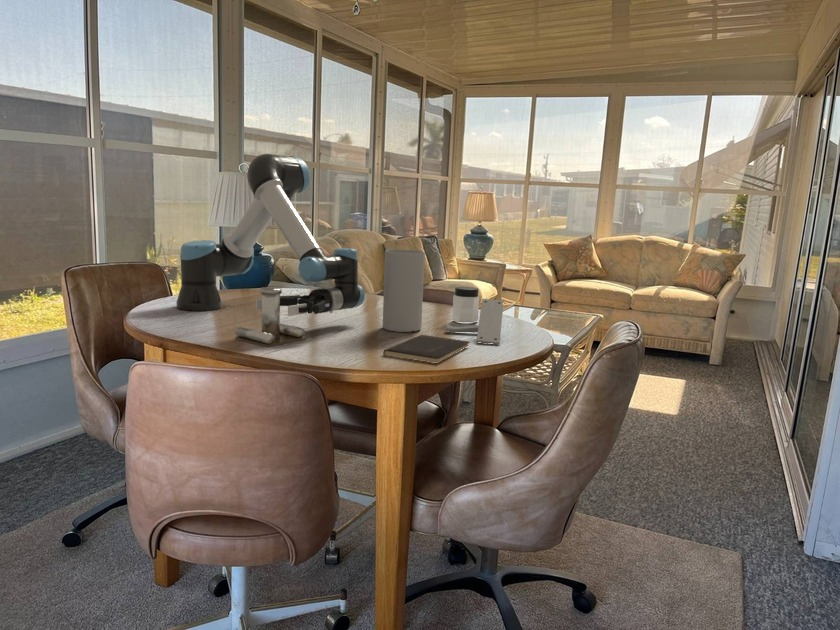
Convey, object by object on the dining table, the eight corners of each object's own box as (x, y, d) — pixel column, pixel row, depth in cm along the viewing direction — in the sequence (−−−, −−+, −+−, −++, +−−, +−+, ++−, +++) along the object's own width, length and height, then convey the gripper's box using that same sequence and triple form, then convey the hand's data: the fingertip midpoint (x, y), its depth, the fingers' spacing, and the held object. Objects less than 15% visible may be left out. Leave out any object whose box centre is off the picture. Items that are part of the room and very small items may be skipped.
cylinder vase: (384, 332, 197) (387, 252, 192) (380, 324, 209) (383, 249, 205) (424, 333, 199) (427, 253, 195) (418, 325, 211) (421, 250, 207)
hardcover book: (469, 349, 183) (469, 341, 182) (438, 366, 162) (438, 357, 162) (419, 341, 189) (419, 334, 189) (382, 357, 169) (383, 349, 168)
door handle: (497, 362, 191) (501, 319, 206) (499, 342, 186) (503, 300, 201) (440, 356, 194) (448, 314, 209) (440, 336, 188) (448, 295, 203)
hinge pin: (255, 337, 180) (255, 288, 178) (271, 334, 185) (271, 286, 183) (269, 340, 177) (269, 290, 175) (285, 337, 182) (286, 289, 179)
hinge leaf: (234, 339, 179) (234, 327, 179) (273, 331, 191) (273, 320, 190) (268, 347, 171) (268, 335, 171) (306, 339, 183) (306, 327, 182)
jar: (476, 320, 225) (478, 287, 223) (478, 324, 217) (481, 290, 215) (451, 319, 225) (453, 285, 222) (452, 323, 217) (454, 289, 214)
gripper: (354, 317, 190) (303, 327, 173) (296, 306, 205) (243, 314, 188) (355, 293, 189) (303, 300, 172) (297, 283, 203) (243, 289, 186)
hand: (272, 307), depth 180 cm, fingers open, 13 cm apart
